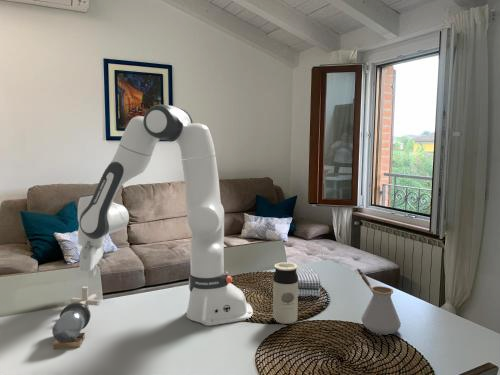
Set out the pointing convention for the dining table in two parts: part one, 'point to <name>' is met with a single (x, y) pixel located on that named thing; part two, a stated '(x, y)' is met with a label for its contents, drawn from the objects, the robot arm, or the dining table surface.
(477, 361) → the dining table surface
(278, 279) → the travel mug
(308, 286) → the towel
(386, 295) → the coffee pot
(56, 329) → the lidded storage canister
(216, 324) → the robot arm
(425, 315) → the dining table surface
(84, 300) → the beige crossed rods piece
